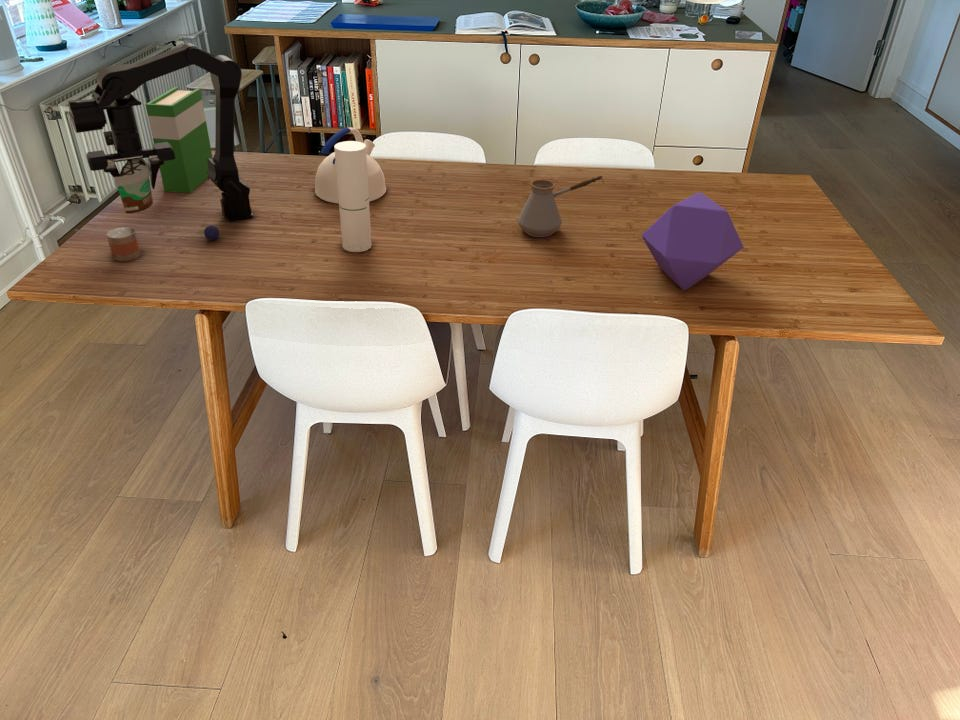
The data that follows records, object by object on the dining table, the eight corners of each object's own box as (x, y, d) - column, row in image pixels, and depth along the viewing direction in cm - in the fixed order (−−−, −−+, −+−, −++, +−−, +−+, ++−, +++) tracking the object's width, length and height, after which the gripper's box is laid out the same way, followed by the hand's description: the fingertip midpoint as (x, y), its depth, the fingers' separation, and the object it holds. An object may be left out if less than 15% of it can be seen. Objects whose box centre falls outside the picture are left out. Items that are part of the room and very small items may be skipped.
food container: (151, 216, 177) (141, 178, 170) (124, 216, 176) (113, 178, 170) (163, 191, 186) (154, 154, 180) (137, 191, 186) (127, 154, 179)
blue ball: (218, 235, 186) (216, 222, 184) (222, 241, 184) (219, 227, 182) (203, 238, 185) (201, 224, 183) (207, 243, 182) (204, 230, 180)
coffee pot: (519, 240, 189) (523, 184, 180) (514, 222, 198) (517, 167, 190) (602, 240, 191) (609, 184, 182) (593, 221, 200) (600, 167, 192)
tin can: (138, 248, 179) (132, 225, 176) (142, 258, 175) (136, 234, 172) (111, 253, 177) (104, 229, 173) (114, 263, 172) (108, 240, 169)
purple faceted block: (724, 312, 169) (775, 235, 161) (659, 291, 161) (710, 208, 152) (676, 267, 187) (720, 196, 179) (615, 246, 178) (658, 170, 170)
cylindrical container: (376, 242, 186) (371, 143, 172) (363, 254, 180) (357, 152, 166) (350, 237, 188) (343, 139, 173) (337, 249, 182) (328, 148, 168)
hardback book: (191, 169, 223) (174, 87, 210) (214, 170, 223) (200, 88, 209) (164, 191, 209) (145, 104, 195) (189, 192, 208) (172, 105, 195)
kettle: (401, 188, 216) (399, 125, 206) (354, 211, 201) (350, 145, 191) (347, 172, 225) (343, 112, 214) (299, 193, 210) (292, 130, 200)
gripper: (159, 111, 181) (173, 173, 190) (75, 121, 173) (93, 185, 182) (168, 124, 173) (182, 188, 182) (80, 135, 165) (99, 201, 174)
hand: (139, 190), depth 180 cm, fingers closed on food container, 6 cm apart
